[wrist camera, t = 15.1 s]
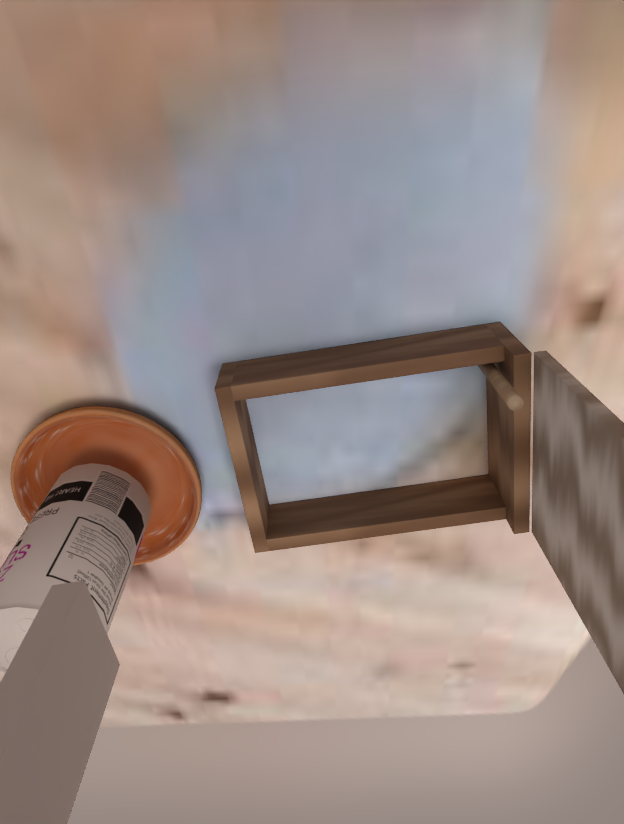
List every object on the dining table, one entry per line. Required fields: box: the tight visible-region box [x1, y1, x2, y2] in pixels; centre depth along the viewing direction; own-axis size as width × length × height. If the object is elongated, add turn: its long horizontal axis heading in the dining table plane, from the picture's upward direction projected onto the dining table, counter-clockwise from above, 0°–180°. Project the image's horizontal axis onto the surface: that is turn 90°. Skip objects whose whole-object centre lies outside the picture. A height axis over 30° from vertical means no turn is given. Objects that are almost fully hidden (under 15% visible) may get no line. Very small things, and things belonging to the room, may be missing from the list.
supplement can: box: [0, 463, 152, 673], centre depth 44 cm, size 8×8×15 cm
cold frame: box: [215, 322, 624, 694], centre depth 41 cm, size 15×23×23 cm, turn 99°
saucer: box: [11, 406, 202, 565], centre depth 52 cm, size 16×16×3 cm
